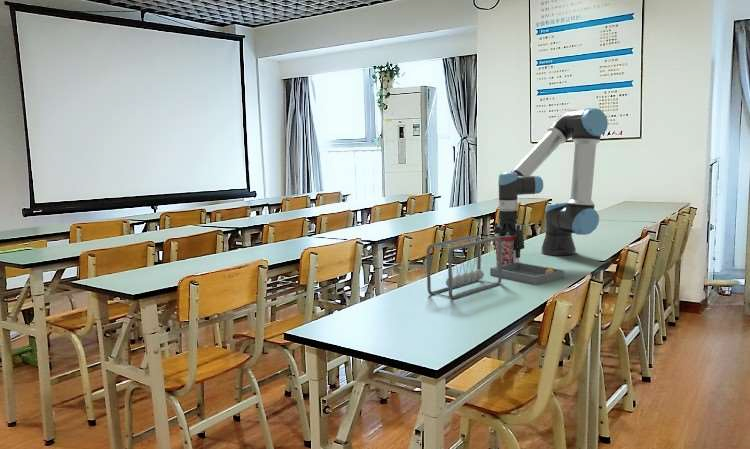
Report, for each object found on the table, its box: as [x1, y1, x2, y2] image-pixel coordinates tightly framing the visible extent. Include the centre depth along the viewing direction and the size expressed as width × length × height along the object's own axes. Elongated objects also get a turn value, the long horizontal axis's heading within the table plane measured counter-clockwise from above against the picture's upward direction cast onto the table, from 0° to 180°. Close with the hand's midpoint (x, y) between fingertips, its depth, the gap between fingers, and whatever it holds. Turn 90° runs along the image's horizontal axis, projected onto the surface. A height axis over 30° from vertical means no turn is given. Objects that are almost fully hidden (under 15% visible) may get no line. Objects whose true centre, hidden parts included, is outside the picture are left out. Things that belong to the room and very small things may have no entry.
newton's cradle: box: [426, 234, 502, 300], centre depth 210 cm, size 30×10×18 cm, turn 134°
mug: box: [493, 232, 517, 267], centre depth 249 cm, size 13×9×14 cm
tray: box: [489, 261, 565, 285], centre depth 226 cm, size 16×22×3 cm
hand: (508, 263), depth 249 cm, fingers closed on mug, 8 cm apart
